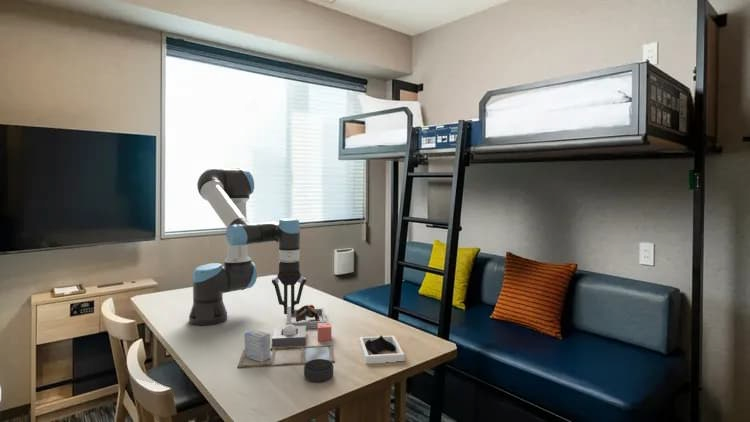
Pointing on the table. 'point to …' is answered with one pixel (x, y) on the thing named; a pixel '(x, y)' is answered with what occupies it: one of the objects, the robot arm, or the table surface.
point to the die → (324, 331)
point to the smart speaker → (318, 370)
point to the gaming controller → (378, 346)
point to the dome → (289, 330)
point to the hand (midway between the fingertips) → (289, 322)
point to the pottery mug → (307, 313)
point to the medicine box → (257, 345)
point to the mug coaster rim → (313, 323)
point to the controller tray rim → (381, 357)
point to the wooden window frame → (311, 354)
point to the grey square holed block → (289, 337)
